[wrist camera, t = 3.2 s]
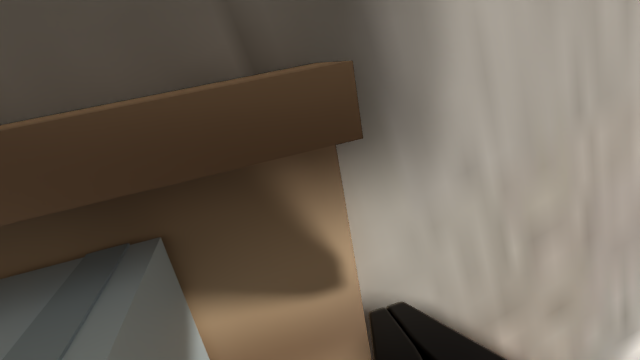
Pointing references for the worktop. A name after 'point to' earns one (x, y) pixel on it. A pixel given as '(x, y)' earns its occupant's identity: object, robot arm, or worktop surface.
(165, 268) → the block
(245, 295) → the bay
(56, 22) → the worktop surface
